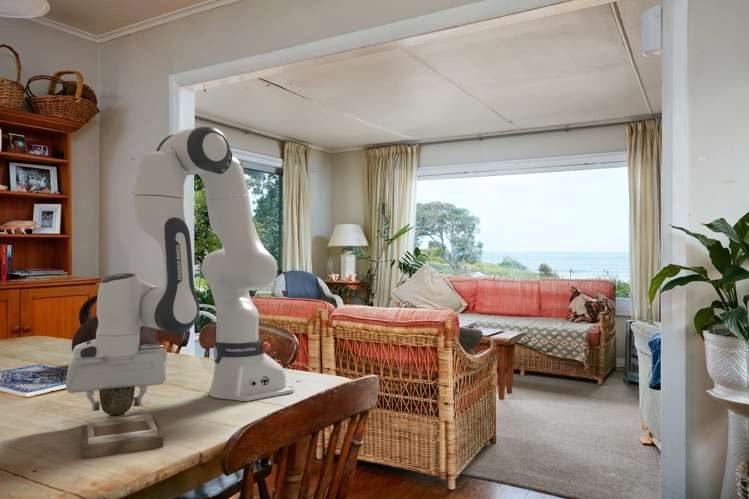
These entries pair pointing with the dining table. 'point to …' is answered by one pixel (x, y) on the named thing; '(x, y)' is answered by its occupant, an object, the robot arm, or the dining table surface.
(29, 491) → the dining table surface
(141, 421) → the plate
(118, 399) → the cup
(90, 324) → the jug
